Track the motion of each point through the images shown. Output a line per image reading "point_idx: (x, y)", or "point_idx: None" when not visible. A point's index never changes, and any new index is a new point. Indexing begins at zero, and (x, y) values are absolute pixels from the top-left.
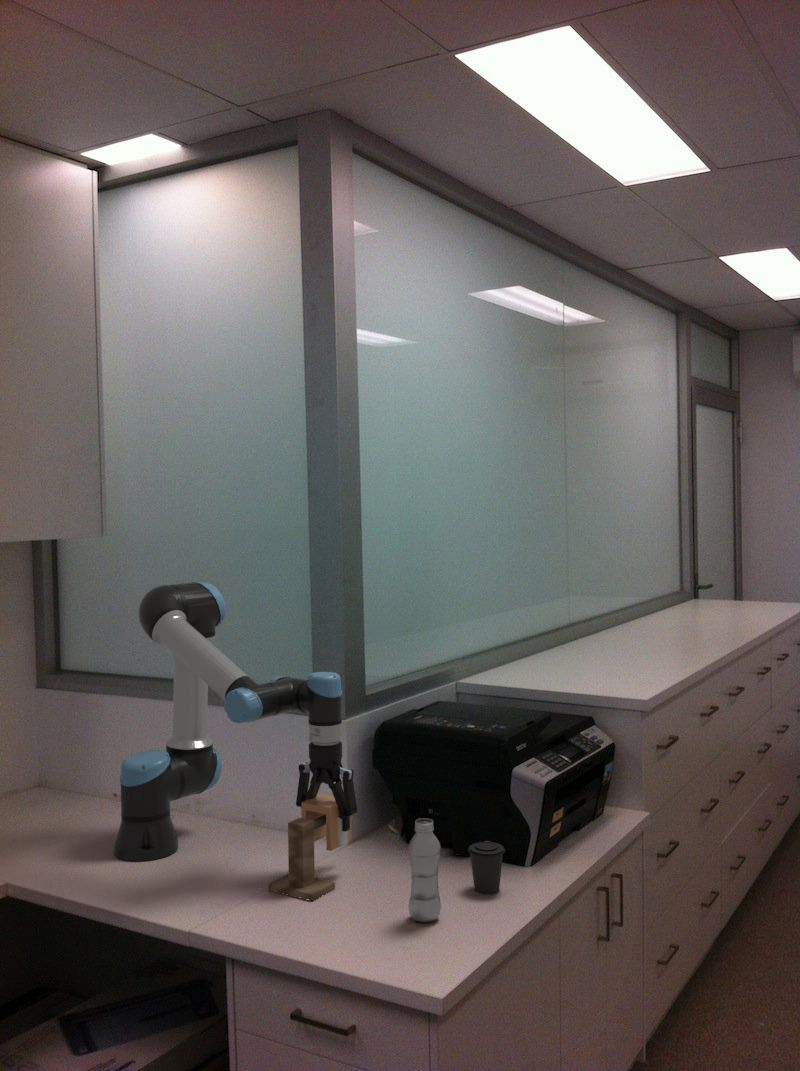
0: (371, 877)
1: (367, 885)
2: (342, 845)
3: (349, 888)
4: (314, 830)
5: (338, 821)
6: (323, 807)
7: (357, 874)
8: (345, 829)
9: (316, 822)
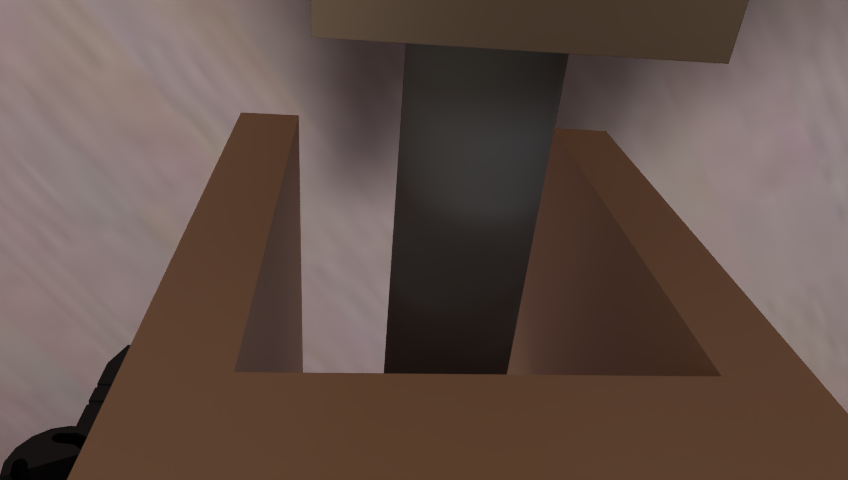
0: (143, 247)
1: (68, 132)
2: None
3: (131, 32)
4: (555, 311)
5: None
6: (286, 478)
7: None
8: (120, 361)
9: (416, 225)
